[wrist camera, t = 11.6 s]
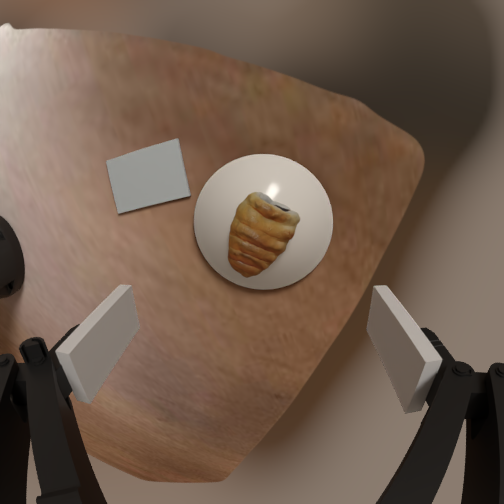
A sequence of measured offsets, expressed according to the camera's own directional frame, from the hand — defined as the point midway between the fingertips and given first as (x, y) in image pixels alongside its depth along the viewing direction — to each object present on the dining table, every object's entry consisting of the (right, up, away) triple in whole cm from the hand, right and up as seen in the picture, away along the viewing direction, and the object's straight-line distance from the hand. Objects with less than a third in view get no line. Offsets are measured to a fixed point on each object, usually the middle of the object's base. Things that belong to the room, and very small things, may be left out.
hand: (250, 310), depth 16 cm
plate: (+1, +6, +20) cm, 21 cm away
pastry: (+1, +6, +19) cm, 20 cm away
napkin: (-13, +12, +19) cm, 26 cm away
